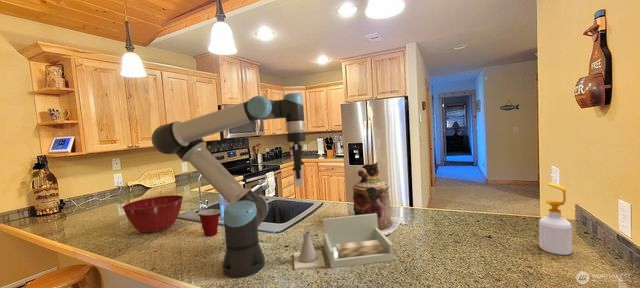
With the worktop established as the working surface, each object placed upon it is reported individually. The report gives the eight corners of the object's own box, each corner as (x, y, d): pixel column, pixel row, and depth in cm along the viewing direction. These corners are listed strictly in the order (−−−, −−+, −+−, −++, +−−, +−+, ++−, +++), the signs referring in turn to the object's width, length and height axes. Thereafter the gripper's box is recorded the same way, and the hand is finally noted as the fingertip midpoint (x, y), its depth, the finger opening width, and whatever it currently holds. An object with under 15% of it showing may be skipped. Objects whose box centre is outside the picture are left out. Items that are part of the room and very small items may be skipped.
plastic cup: (225, 234, 134) (223, 210, 134) (202, 240, 128) (200, 215, 127) (219, 228, 143) (217, 206, 142) (197, 234, 136) (195, 211, 136)
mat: (294, 270, 96) (294, 268, 96) (293, 254, 107) (293, 252, 107) (325, 266, 97) (325, 264, 97) (321, 251, 109) (320, 249, 109)
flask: (319, 254, 105) (318, 229, 104) (315, 263, 98) (314, 236, 97) (301, 253, 106) (300, 228, 106) (296, 262, 99) (294, 236, 99)
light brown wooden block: (339, 264, 98) (338, 248, 98) (337, 259, 102) (336, 244, 101) (383, 259, 100) (383, 243, 99) (380, 254, 104) (379, 239, 103)
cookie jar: (362, 214, 151) (359, 158, 149) (405, 221, 137) (403, 159, 135) (339, 229, 131) (335, 164, 129) (387, 239, 117) (383, 166, 115)
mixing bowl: (122, 229, 151) (119, 202, 150) (178, 216, 169) (176, 192, 168) (128, 244, 129) (124, 212, 128) (191, 227, 148) (189, 199, 147)
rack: (331, 268, 96) (329, 235, 95) (324, 246, 113) (322, 218, 112) (393, 260, 98) (392, 228, 98) (377, 240, 116) (376, 213, 115)
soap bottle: (541, 242, 105) (540, 180, 104) (572, 248, 99) (572, 182, 98) (537, 250, 99) (536, 184, 98) (571, 258, 93) (570, 187, 91)
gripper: (304, 131, 98) (308, 189, 99) (305, 131, 123) (308, 177, 124) (284, 132, 97) (288, 190, 98) (288, 132, 122) (292, 178, 123)
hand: (299, 183), depth 111 cm, fingers open, 13 cm apart
